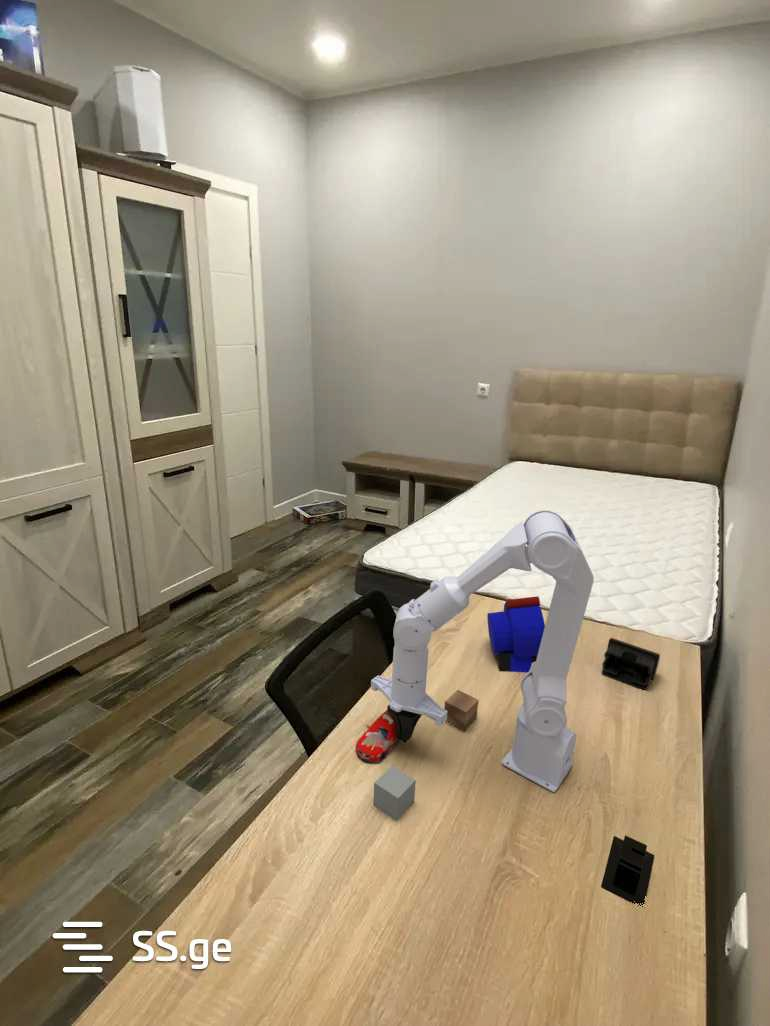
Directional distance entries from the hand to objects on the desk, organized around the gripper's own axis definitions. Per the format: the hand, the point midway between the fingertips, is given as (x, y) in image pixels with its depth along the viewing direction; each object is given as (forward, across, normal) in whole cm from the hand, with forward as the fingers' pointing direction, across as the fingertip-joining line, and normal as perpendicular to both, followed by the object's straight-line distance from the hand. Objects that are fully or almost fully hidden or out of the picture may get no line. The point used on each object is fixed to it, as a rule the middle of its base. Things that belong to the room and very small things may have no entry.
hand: (405, 738), depth 98 cm
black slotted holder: (+2, +24, +48) cm, 54 cm away
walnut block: (+2, +4, +12) cm, 13 cm away
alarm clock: (+2, +2, +38) cm, 38 cm away
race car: (+2, -4, -1) cm, 4 cm away
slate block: (+2, +6, -11) cm, 13 cm away
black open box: (+2, +38, +1) cm, 38 cm away
